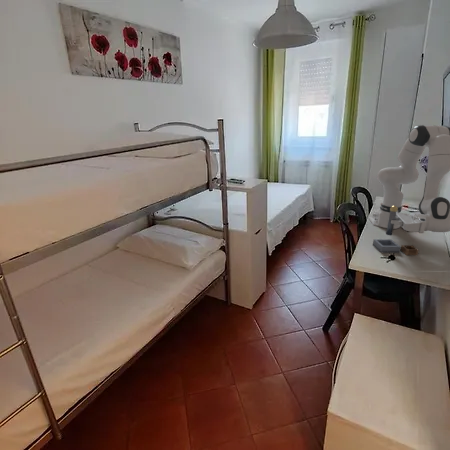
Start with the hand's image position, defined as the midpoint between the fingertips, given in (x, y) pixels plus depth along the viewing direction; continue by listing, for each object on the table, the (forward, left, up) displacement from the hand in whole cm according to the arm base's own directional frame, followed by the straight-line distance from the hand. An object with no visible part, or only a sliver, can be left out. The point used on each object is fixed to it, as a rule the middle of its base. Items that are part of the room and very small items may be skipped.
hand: (389, 220), depth 164 cm
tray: (0, +1, -17) cm, 17 cm away
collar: (+5, +11, -17) cm, 21 cm away
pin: (0, +1, -8) cm, 8 cm away
